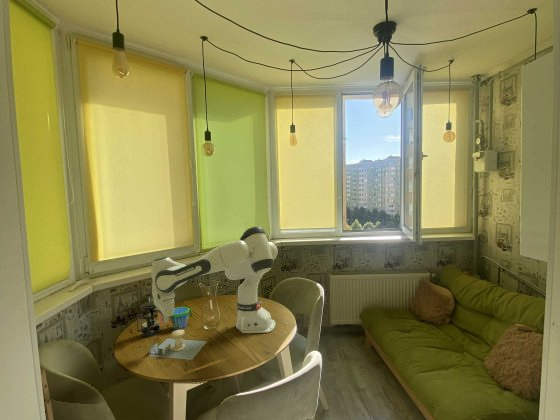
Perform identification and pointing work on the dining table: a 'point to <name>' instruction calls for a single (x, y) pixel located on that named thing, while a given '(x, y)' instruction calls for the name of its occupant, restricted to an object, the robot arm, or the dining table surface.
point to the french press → (148, 319)
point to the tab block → (160, 319)
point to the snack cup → (180, 317)
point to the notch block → (159, 350)
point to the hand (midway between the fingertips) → (163, 319)
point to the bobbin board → (183, 353)
